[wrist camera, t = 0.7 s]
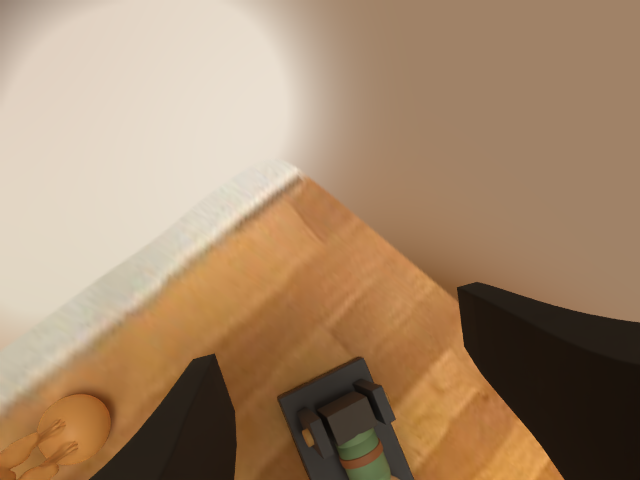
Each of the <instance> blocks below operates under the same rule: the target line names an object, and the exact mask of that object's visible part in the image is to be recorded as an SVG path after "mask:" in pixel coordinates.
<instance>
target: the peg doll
mask: <svg viewBox="0 0 640 480" xmlns="http://www.w3.org/2000/svg"><path fill="white" fill-rule="evenodd" d="M317 412H318V415H319V417H320V419H321V421H322V423H323V426H324V428H325V431H326V433H327V436H328V438H330V439H331V440H332V441H333V442H334V443H335V445H336V448H337V450H338V453H339V459H340V462H341V464H342V466H343V467H344V468H345V470H346V472H347V475H348V477H349V480H400V479H398V478H396V477H394V476H392V475H391V471H390V467H389V464H388V462H387V459H386V457H385V455H384V452H383V446H382V443H381V441H380V439H379V438H378V437H377V435H376V433H375V430H374V428H373V427H375V426H377V425H378V423H377V421H376V418H375V416H374V413H373V411H372V408H371V406H370V404H369V401H368V399H367V397H366V396H364V395H362V394H360V393H358V392H355V391H352V392H350V393H348V394H346V395H344V396H342V397H340V398H339V399H337V400H335V401H333V402H331V403H329V404H327V405H325V406H323V407H321V408H319V409H317Z"/></svg>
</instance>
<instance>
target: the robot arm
mask: <svg viewBox="0 0 640 480" xmlns="http://www.w3.org/2000/svg"><path fill="white" fill-rule="evenodd" d="M457 291H458V300H459V308H460V316H461V324H462V332H463V341H464V347H465V348H466V350H467V352H468V353H469V355H470V357H471V358H472V360H473V362H474V363H475V365H476V366H477V368H478V369H479V371H480V372H481V374H482V375H483V376H484V378H485V379H486V380H487V381H488V382H489V384H490V385H491V386H492V387H493V388H494V390H495V391H496V392H497V393H498V394H499V396H500V397H501V398H502V399H503V400H504V401H505V403H506V404H507V405H508V406H509V407H510V408H511V410H512V411H513V412H514V413H515V414H516V415H517V417H518V418H519V419H520V420H521V421H522V423H523V424H524V425H525V426H526V427H527V428H528V430H529V431H530V432H531V433H532V435H533V436H534V437H535V438H536V440H537V441H538V442H539V443H540V445H541V446H542V448H543V449H544V450H545V452H546V453H547V455H548V456H549V458H550V459H551V461H552V462H553V464H554V465H555V466H556V468H557V469H558V471H559V472H560V474H561V475H562V477H563V478H564V480H640V323H639V322H631V321H624V320H617V319H611V318H607V317H602V316H596V315H590V314H586V313H582V312H577V311H573V310H569V309H565V308H562V307H558V306H554V305H551V304H547V303H544V302H540V301H537V300H534V299H531V298H527V297H524V296H521V295H518V294H515V293H512V292H509V291H506V290H503V289H500V288H497V287H493V286H490V285H486V284H483V283H479V282H475V283H471V284H468V285H464V286H461V287H457ZM236 446H237V441H236V422H235V410H234V407H233V405H232V402H231V399H230V396H229V393H228V390H227V387H226V385H225V382H224V379H223V376H222V373H221V370H220V367H219V365H218V362H217V359H216V356H215V353H214V354H211V355H207V356H203V357H200V358H196V359H193V360H192V361H191V363H190V364H189V365H188V367H187V368H186V369H185V371H184V372H183V374H182V375H181V376H180V378H179V379H178V381H177V382H176V383H175V385H174V386H173V387H172V389H171V390H170V391H169V393H168V394H167V396H166V397H165V398H164V400H163V401H162V402H161V404H160V405H159V406H158V407H157V409H156V410H155V411H154V412H153V413H152V415H151V416H150V417H149V418H148V420H147V421H146V422H145V423H144V424H143V426H142V427H141V428H140V429H139V430H138V432H137V433H136V434H135V435H134V436H133V437H132V438H131V439H130V441H129V442H128V443H127V444H126V445H125V446H124V447H123V448H122V449H121V450H120V451H119V452H118V453H117V454H116V455H115V456H114V457H113V458H112V459H111V460H110V461H109V462H108V463H107V464H106V465H105V466H104V467H103V468H102V469H100V470H99V471H98V472H97V473H96V474H95V475H94V476H93V477H91V478H90V479H89V480H234V474H235V461H236Z"/></svg>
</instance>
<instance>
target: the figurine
mask: <svg viewBox="0 0 640 480" xmlns="http://www.w3.org/2000/svg"><path fill="white" fill-rule="evenodd" d="M110 426H111V420H110V415H109V412H108V410H107V408H106V406H105V405H104V404H103V403H102V402H101V401H100V400H99V399H97V398H95V397H93V396H90V395H85V394H75V395H70V396H67V397H64V398H62V399H60V400H58V401H57V402H55V403H54V404H53V405H52V406H50V407H49V408H48V409H47V411H46V412H45V413H44V415H43V416H42V418H41V420H40V422H39V425H38V428H37V433H32V434H30V435H28V436H26V437H24V438H21V439H19V440H17V441H15V442H14V443H12V444H11V445H9V446H8V447H7V448H6V449H4V450H3V451H1V452H0V480H16V474H15V472H13V471H10V469H11V468H13V467H16V466H18V465H20V464H21V463H23V462H24V461H25V460H26V459H27V458H28V457H29V455H30V453H31V451H32V449H34V448H35V446H37V445H38V447H39V449H40V451H41V452H42V454H43V455H44V456H45V457H46V458H47V460H46V461H44V462H43V463H42V464H41V465H40V466H39V467H35V468H32V469H29V470H28V471H26V472H25V473H24V474H23V475H22V476H21V477H20V478H19V479H17V480H49V479H50V478H52V477H53V476H54V475H55V474H56V473H57V472H58V464H63V465H71V464H77V463H80V462H83V461H85V460H87V459H89V458H90V457H92V456H93V455H94V454H96V453H97V452H98V451H99V450H100V449H101V447H102V446H103V445H104V443H105V442H106V440H107V438H108V435H109V432H110ZM56 463H57V464H56Z"/></svg>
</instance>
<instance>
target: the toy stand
mask: <svg viewBox="0 0 640 480" xmlns="http://www.w3.org/2000/svg"><path fill="white" fill-rule="evenodd" d="M352 391H355V392H358V393H360V394H362V395H364V396H366V397H367V399H368V401H369V404H370V406H371V408H372V411H373V413H374V416H375V418H376V421H377V423H378V425H377V426H375V427H373V428H374V430H375V433H376V435H377V437H378V438H379V439H380V441H381V443H382V446H383V452H384V455H385V457H386V459H387V462H388V464H389V467H390V471H391V475H392V476H394V477H396V478H398V479H400V480H414V478H413V476H412V473H411V471H410V468H409V466H408V464H407V461H406V459H405V456H404V454H403V451H402V449H401V447H400V444H399V442H398V439H397V437H396V435H395V432H394V430H393V427H392V425H391V422H392V421H394V420H396V419H395V416H394V414H393V411H392V409H391V407H390V404H389V398H388V396H387V394H386V392H385V391H384V390H383V387H382V386H381V385H378V384H375V383H374V382H373V379H372V377H371V374H370V372H369V370H368V367H367V365H366V362H365V360H364V358H362V357H358V358H356V359H354V360H352V361H350V362H348V363H345V364H343V365H341V366H339V367H337V368H335V369H333V370H331V371H329V372H327V373H325V374H323V375H321V376H319V377H317V378H315V379H313V380H311V381H309V382H307V383H305V384H303V385H301V386H299V387H297V388H295V389H293V390H291V391H289V392H287V393H285V394H283V395H281V396H279V397H277V399H278V402H279V404H280V407H281V409H282V412H283V414H284V417H285V419H286V422H287V424H288V427H289V429H290V432H291V434H292V437H293V439H294V442H295V444H296V447H297V449H298V452H299V454H300V457H301V459H302V462H303V464H304V467H305V469H306V472H307V474H308V477H309V479H310V480H349V477H348V475H347V472H346V470H345V468H344V467H343V466H342V464H341V462H340V459H339V453H338V450H337V448H336V445H335V443H334V442H333V441H332V440H331V439H330V438H328V436H327V433H326V431H325V428H324V426H323V423H322V421H321V419H320V417H319V415H318V412H317V409H319V408H321V407H323V406H325V405H327V404H329V403H331V402H333V401H335V400H337V399H339V398H340V397H342V396H344V395H346V394H348V393H350V392H352Z"/></svg>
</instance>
